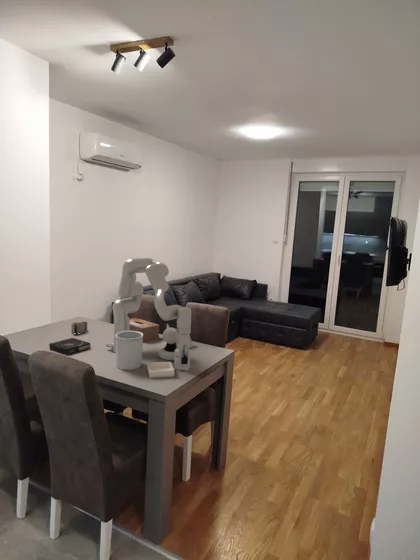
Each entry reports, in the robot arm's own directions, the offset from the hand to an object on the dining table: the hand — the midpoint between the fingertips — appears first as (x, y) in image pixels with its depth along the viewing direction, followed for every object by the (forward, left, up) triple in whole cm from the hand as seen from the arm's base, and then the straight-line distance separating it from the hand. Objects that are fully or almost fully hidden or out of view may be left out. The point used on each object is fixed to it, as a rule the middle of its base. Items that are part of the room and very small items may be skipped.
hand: (182, 360), depth 202 cm
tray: (-13, -5, -4) cm, 14 cm away
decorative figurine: (-3, +18, -5) cm, 19 cm away
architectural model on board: (-58, +74, -5) cm, 94 cm away
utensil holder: (-28, +8, -4) cm, 30 cm away
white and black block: (+6, +35, -5) cm, 36 cm away
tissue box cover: (-19, +63, -5) cm, 66 cm away
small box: (0, 0, -5) cm, 5 cm away
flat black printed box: (-61, +40, -5) cm, 73 cm away
